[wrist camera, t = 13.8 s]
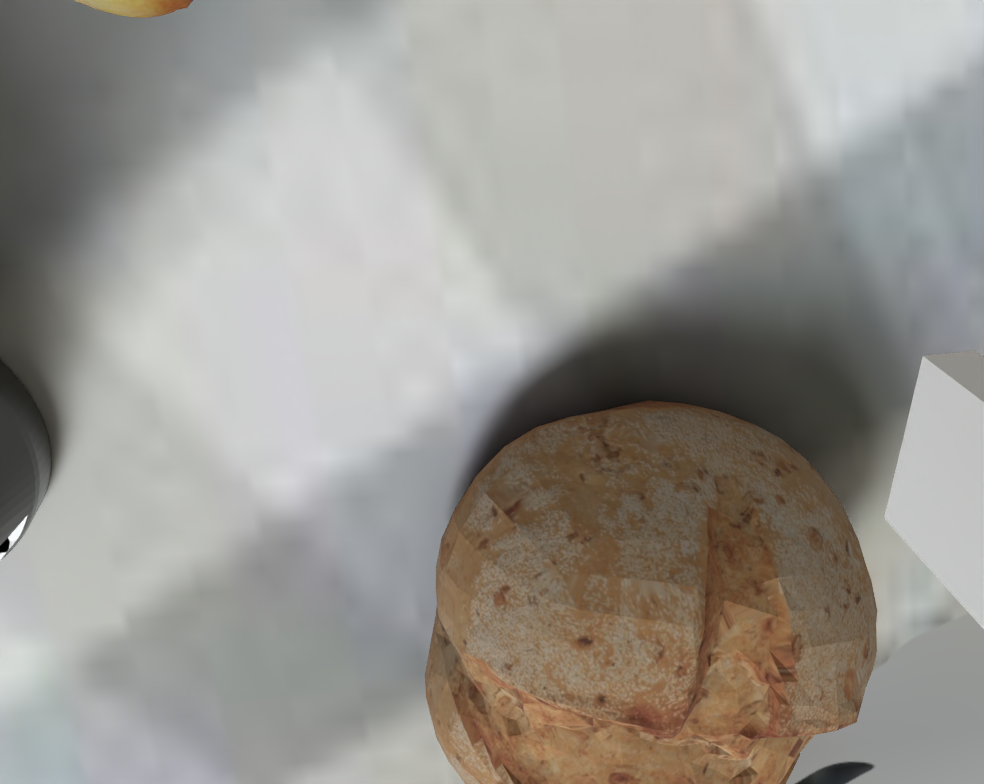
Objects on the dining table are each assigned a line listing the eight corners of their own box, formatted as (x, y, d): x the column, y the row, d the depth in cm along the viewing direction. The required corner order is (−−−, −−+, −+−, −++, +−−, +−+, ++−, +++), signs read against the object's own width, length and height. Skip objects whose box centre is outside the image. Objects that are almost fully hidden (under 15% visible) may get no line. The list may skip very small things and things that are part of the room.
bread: (708, 730, 60) (807, 953, 47) (381, 716, 54) (392, 965, 42) (867, 411, 48) (1057, 591, 35) (471, 352, 43) (526, 540, 30)
